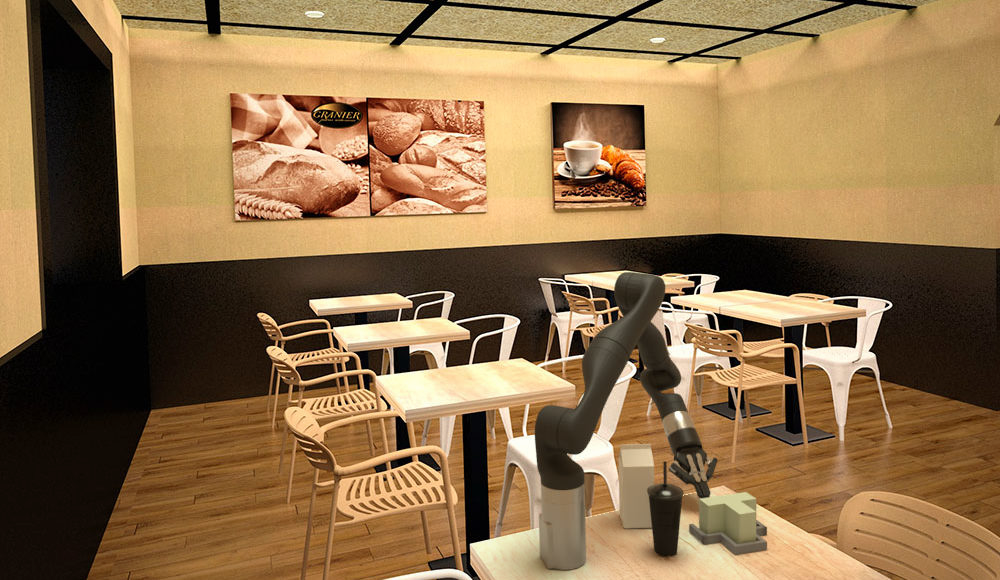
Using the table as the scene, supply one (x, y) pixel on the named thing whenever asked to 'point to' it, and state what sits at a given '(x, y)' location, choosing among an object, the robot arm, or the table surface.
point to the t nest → (730, 544)
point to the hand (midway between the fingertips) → (705, 498)
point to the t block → (729, 516)
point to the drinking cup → (665, 515)
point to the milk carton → (635, 485)
